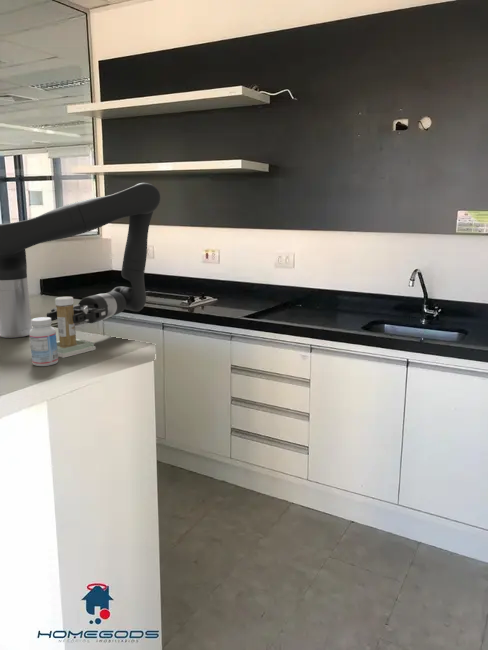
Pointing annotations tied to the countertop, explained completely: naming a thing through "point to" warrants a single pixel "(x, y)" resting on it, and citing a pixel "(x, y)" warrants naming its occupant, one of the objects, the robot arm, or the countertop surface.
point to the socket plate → (75, 348)
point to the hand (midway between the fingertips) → (60, 318)
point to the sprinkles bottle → (66, 321)
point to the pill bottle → (43, 342)
